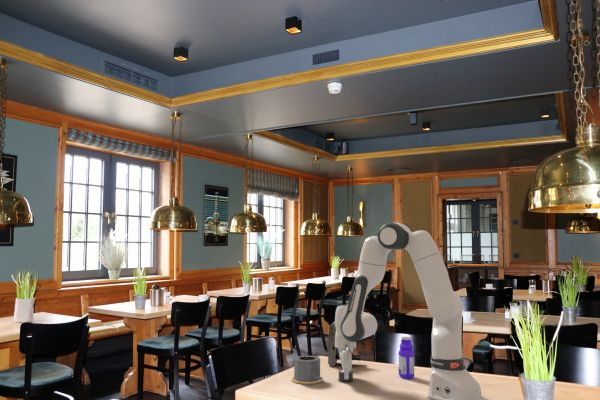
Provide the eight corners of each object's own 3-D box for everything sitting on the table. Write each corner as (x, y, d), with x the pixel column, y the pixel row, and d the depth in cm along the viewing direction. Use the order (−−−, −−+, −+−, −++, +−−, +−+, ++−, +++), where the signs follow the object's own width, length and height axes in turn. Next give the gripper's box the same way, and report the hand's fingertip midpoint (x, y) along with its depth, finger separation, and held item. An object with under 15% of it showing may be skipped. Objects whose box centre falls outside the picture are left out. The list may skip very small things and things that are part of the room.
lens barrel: (328, 382, 215) (328, 359, 216) (301, 386, 209) (301, 363, 210) (312, 375, 226) (312, 354, 227) (286, 378, 220) (286, 357, 221)
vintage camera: (360, 369, 240) (361, 325, 241) (327, 366, 243) (328, 323, 245) (362, 364, 249) (363, 322, 251) (330, 362, 252) (331, 320, 254)
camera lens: (355, 381, 216) (355, 371, 217) (343, 383, 213) (343, 373, 214) (347, 378, 222) (347, 368, 222) (335, 379, 219) (335, 370, 219)
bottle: (417, 378, 221) (416, 337, 222) (405, 380, 219) (405, 337, 220) (407, 374, 227) (406, 334, 229) (396, 376, 225) (395, 335, 227)
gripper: (355, 347, 208) (355, 383, 207) (351, 338, 229) (351, 370, 228) (339, 347, 209) (339, 383, 207) (336, 338, 229) (336, 370, 228)
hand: (345, 376), depth 218 cm, fingers closed on camera lens, 6 cm apart
